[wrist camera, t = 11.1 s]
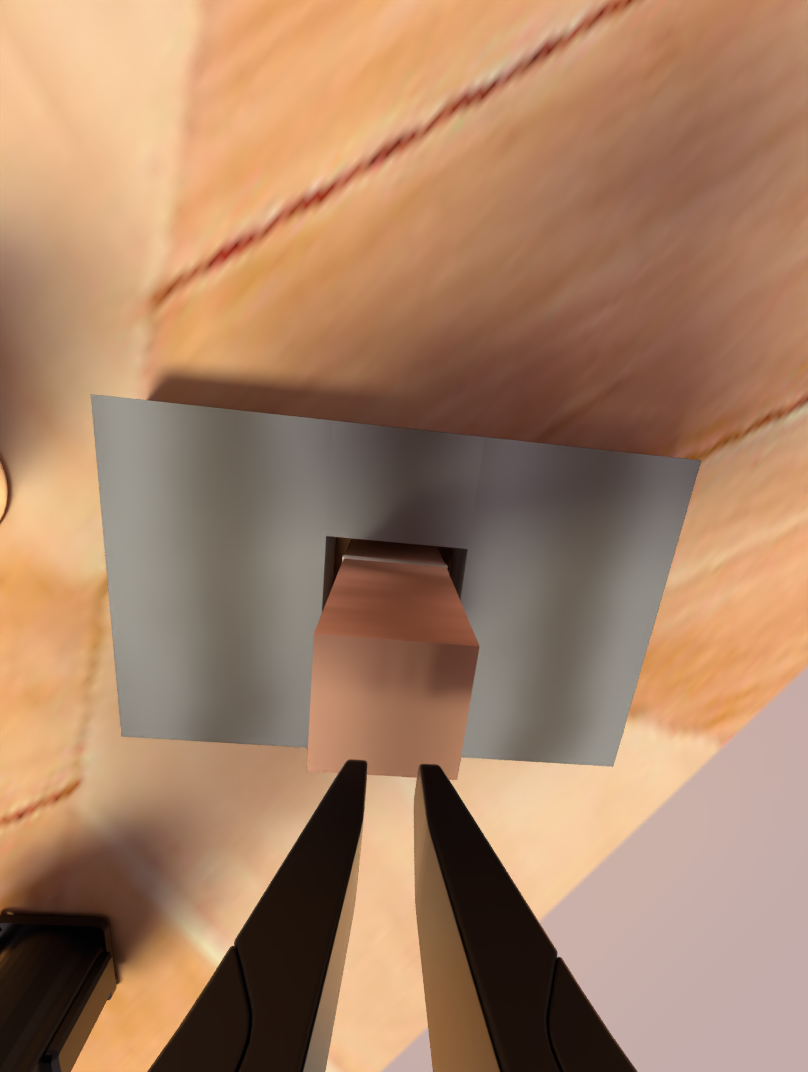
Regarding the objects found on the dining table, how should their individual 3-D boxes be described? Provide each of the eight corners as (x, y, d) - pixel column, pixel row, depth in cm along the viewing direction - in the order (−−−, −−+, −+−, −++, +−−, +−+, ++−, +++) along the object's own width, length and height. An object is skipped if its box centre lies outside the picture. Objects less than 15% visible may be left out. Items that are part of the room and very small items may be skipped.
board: (162, 691, 19) (121, 736, 17) (145, 402, 16) (90, 394, 13) (582, 720, 21) (613, 766, 18) (649, 456, 17) (701, 460, 14)
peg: (345, 617, 19) (304, 772, 10) (350, 536, 18) (311, 631, 9) (427, 624, 19) (458, 781, 10) (438, 544, 18) (481, 644, 9)
